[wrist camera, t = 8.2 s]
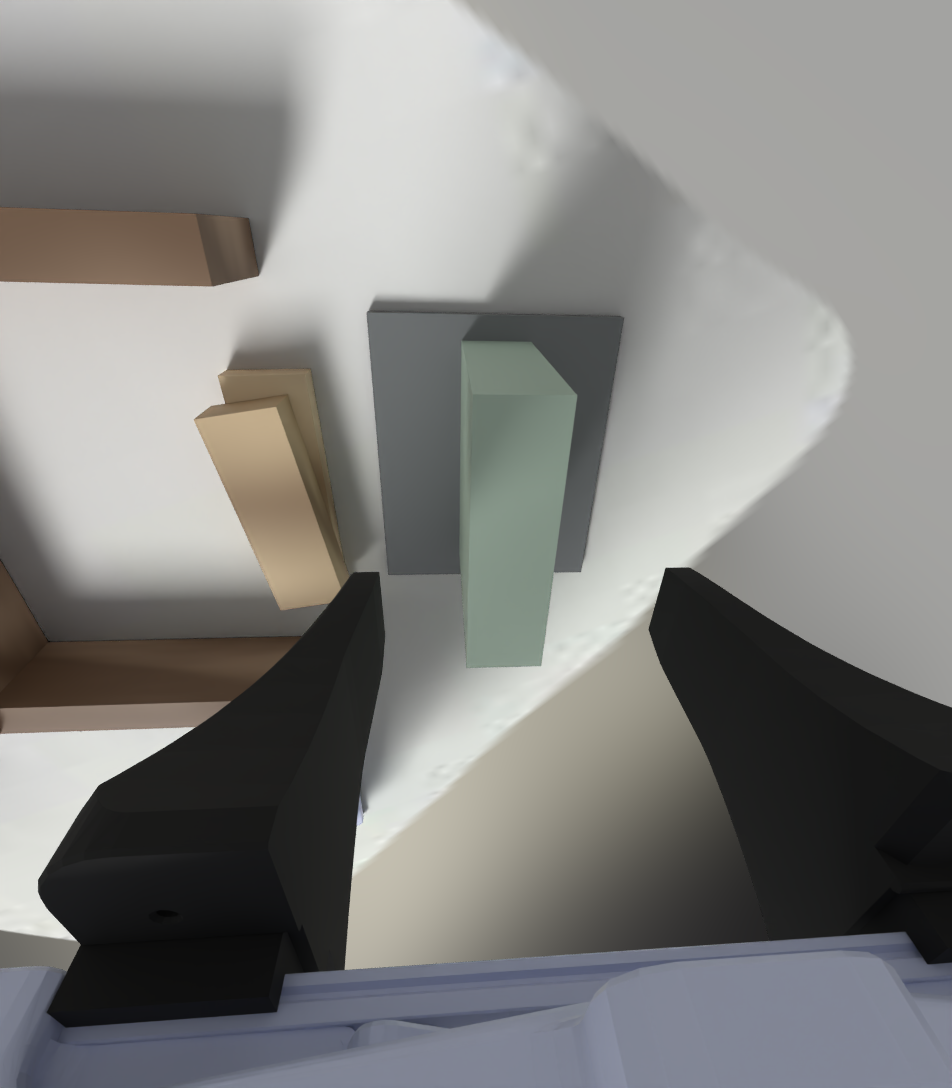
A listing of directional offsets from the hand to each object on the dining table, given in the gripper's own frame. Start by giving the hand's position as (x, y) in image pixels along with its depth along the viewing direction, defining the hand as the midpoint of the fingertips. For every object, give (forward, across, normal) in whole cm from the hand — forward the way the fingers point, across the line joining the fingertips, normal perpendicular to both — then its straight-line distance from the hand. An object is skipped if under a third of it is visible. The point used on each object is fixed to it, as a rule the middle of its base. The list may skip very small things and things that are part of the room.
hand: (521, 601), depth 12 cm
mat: (+9, 0, 0) cm, 9 cm away
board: (+9, 0, 0) cm, 9 cm away
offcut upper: (+9, +8, +2) cm, 12 cm away
